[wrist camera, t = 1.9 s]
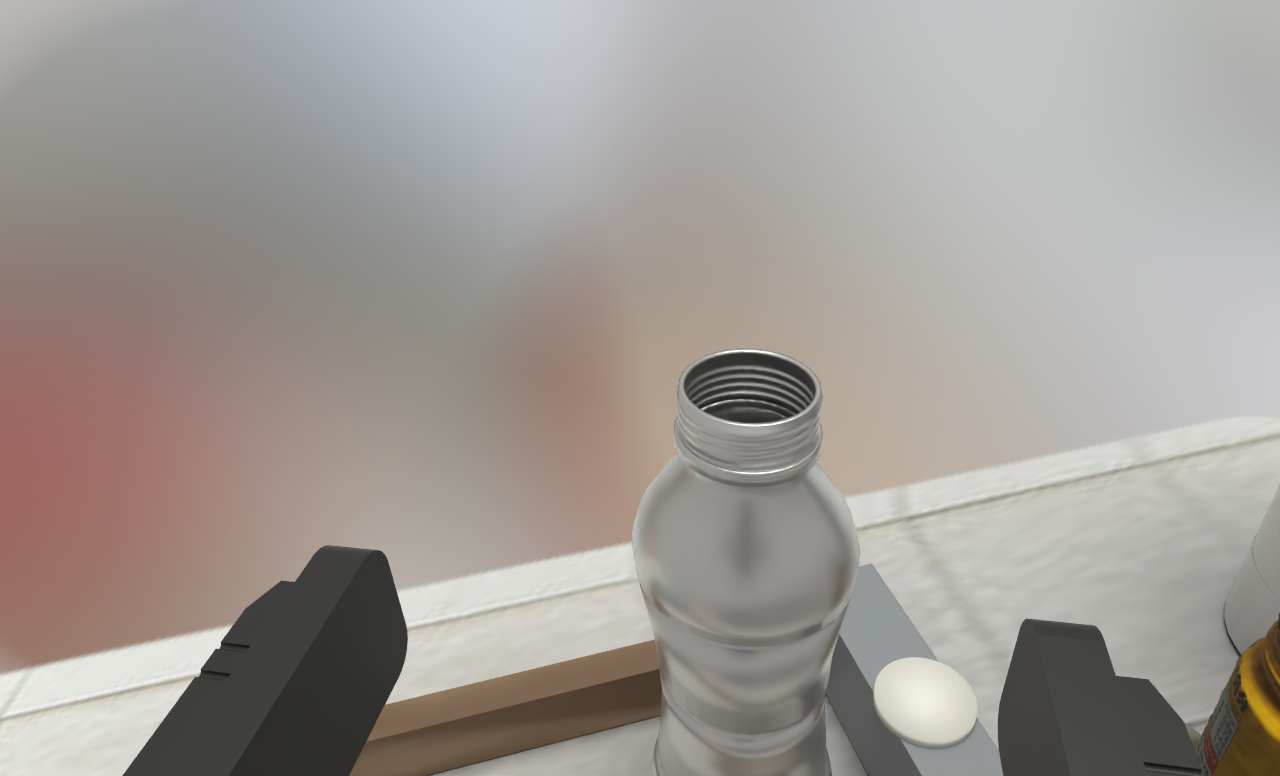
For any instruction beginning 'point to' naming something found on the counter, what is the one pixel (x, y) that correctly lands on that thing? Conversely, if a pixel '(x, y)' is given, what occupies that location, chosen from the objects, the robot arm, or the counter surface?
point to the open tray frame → (513, 713)
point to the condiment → (1246, 716)
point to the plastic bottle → (745, 571)
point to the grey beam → (902, 694)
